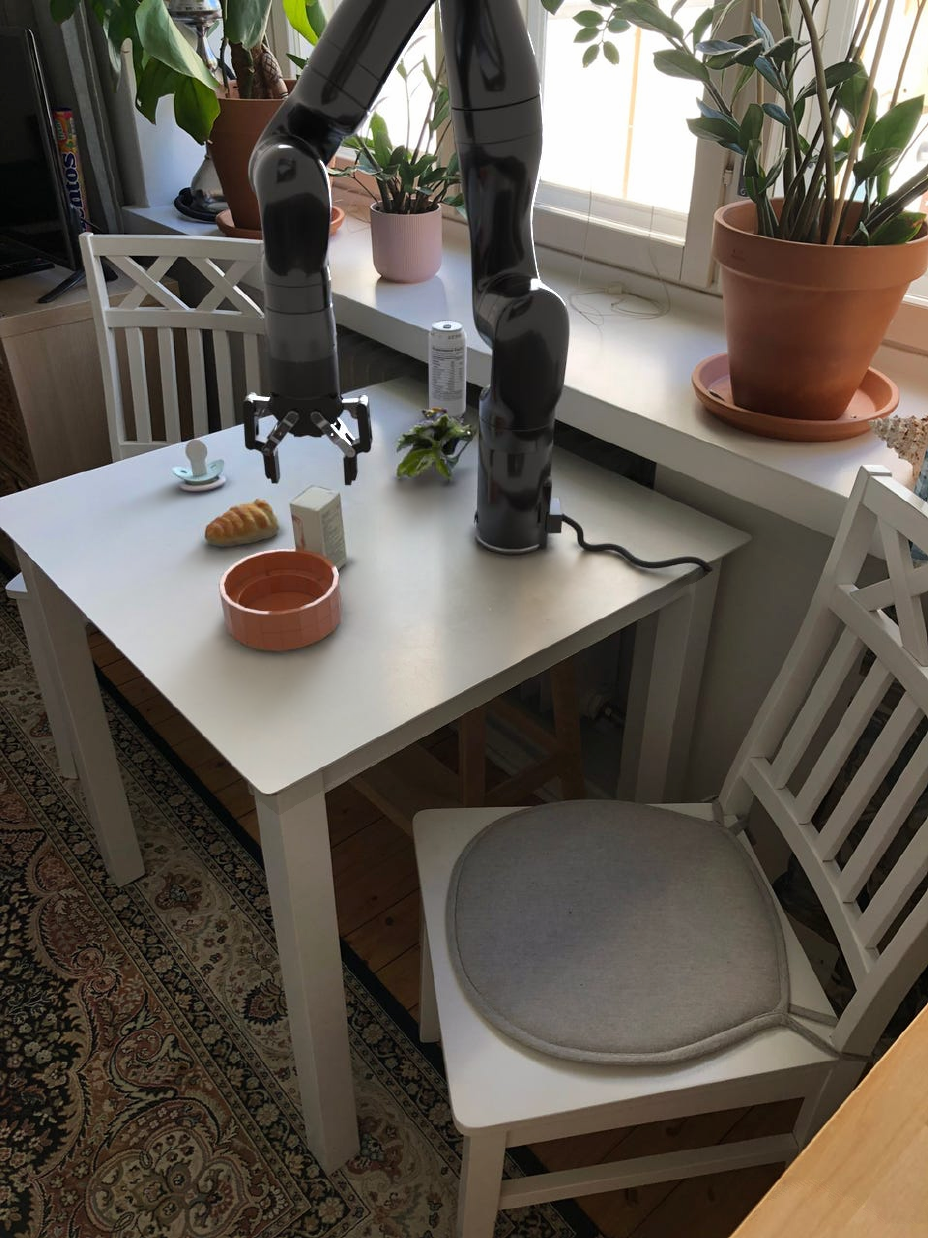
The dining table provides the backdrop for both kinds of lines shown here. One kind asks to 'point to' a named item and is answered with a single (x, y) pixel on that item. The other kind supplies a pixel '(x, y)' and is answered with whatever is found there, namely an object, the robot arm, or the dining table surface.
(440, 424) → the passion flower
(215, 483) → the pacifier
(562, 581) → the dining table surface
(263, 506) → the pastry
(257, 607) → the bowl
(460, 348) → the energy drink can
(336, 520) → the printed white carton
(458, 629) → the dining table surface
